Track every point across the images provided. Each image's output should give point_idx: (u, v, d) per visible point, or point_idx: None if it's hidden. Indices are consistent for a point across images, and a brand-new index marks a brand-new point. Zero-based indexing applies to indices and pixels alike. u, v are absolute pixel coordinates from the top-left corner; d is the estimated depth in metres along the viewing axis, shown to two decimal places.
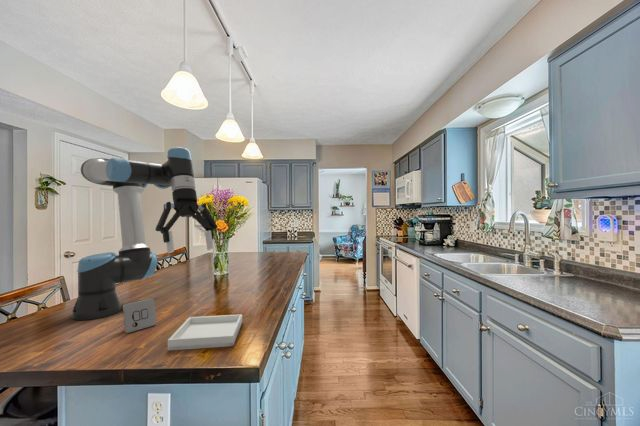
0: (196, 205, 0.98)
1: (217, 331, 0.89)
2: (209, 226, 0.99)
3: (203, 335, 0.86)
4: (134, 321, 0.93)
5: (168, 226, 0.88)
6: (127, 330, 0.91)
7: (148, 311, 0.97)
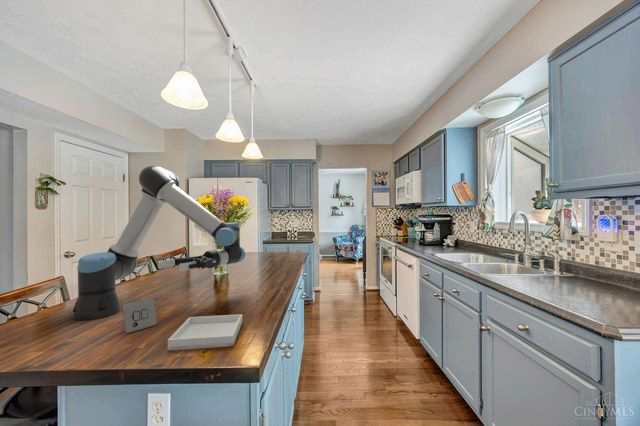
0: None
1: (217, 331, 0.89)
2: (177, 264, 1.15)
3: (203, 335, 0.86)
4: (134, 321, 0.93)
5: None
6: (127, 330, 0.91)
7: (148, 311, 0.97)
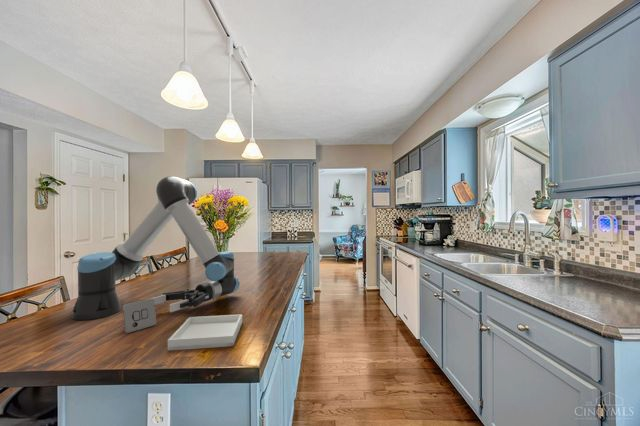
0: None
1: (217, 331, 0.89)
2: (168, 300, 1.11)
3: (203, 335, 0.86)
4: (134, 321, 0.93)
5: None
6: (127, 330, 0.91)
7: (148, 311, 0.97)
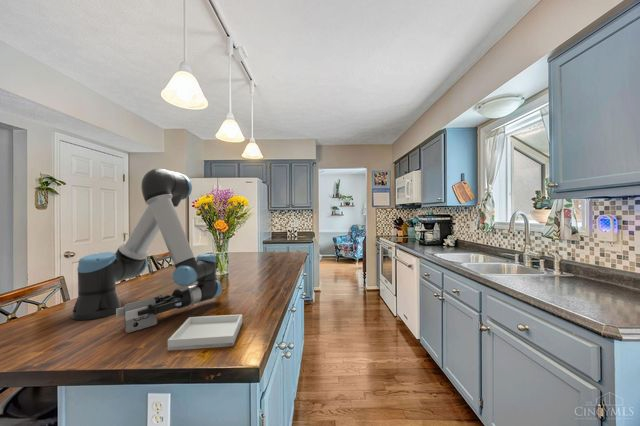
0: None
1: (217, 331, 0.89)
2: None
3: (203, 335, 0.86)
4: (135, 321, 0.93)
5: None
6: (128, 330, 0.91)
7: None
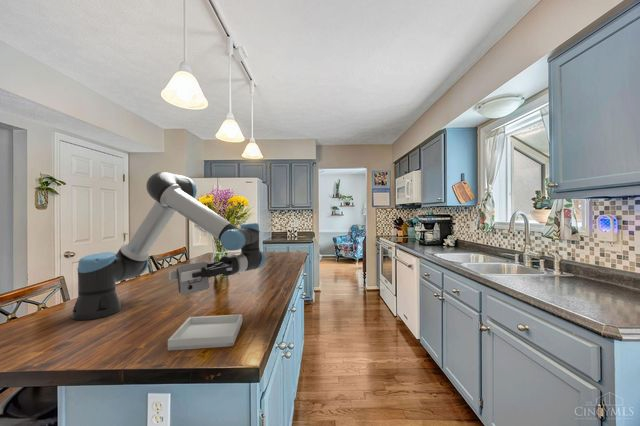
0: None
1: (217, 331, 0.89)
2: None
3: (203, 335, 0.86)
4: (189, 283, 0.88)
5: None
6: (183, 292, 0.86)
7: None
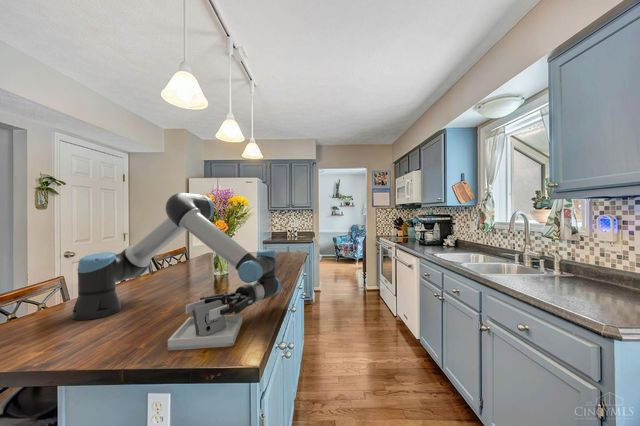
0: None
1: (217, 331, 0.89)
2: None
3: None
4: (207, 325, 0.86)
5: None
6: (202, 334, 0.84)
7: None
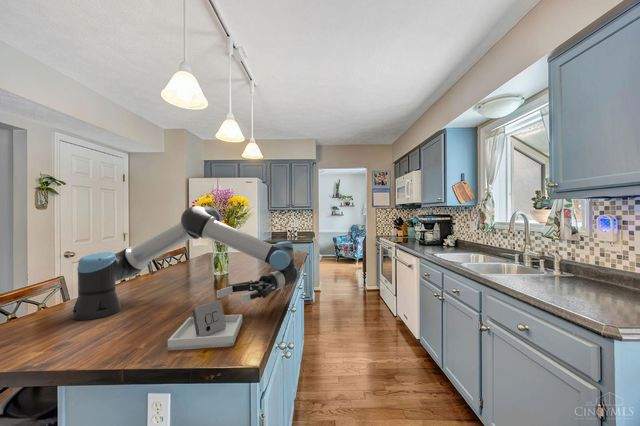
0: None
1: (217, 331, 0.89)
2: (234, 291, 1.09)
3: None
4: (207, 325, 0.86)
5: None
6: (202, 334, 0.84)
7: (218, 313, 0.90)
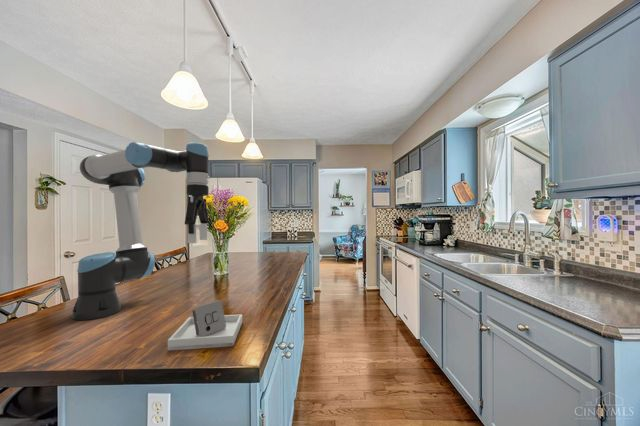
0: (203, 200, 1.07)
1: (217, 331, 0.89)
2: (206, 219, 1.11)
3: None
4: (207, 325, 0.86)
5: (195, 220, 0.97)
6: (202, 334, 0.84)
7: (218, 313, 0.90)
